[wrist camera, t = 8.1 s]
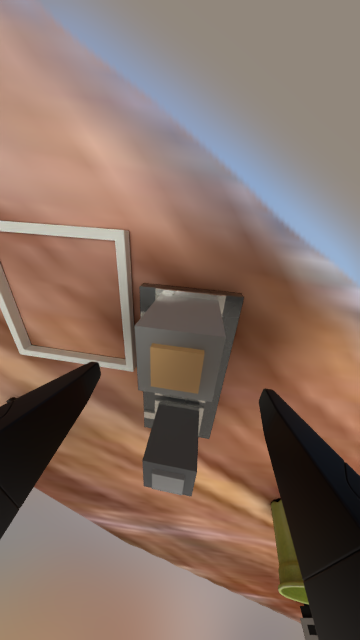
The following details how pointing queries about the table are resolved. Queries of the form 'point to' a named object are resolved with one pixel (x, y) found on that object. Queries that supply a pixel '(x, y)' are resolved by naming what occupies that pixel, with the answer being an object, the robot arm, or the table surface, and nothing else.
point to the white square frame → (4, 298)
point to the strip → (230, 316)
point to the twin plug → (172, 450)
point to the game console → (308, 623)
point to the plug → (180, 347)
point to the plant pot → (287, 558)
